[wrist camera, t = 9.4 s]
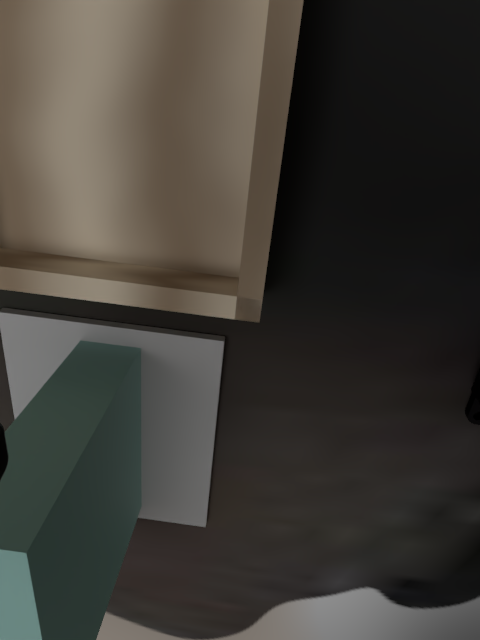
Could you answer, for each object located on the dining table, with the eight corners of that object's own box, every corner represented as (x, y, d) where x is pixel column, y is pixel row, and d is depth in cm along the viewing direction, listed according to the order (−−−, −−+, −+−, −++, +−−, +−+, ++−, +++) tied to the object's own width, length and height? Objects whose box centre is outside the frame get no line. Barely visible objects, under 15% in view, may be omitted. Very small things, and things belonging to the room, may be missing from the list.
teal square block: (141, 348, 22) (26, 552, 12) (141, 506, 27) (60, 742, 17) (80, 340, 22) (-83, 537, 12) (92, 499, 27) (-17, 730, 17)
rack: (328, -198, 13) (340, -272, 11) (262, 293, 21) (259, 322, 18) (-314, -260, 14) (-456, -344, 11) (-160, 239, 21) (-224, 260, 18)
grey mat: (225, 336, 22) (223, 341, 21) (206, 520, 28) (205, 527, 27) (3, 307, 22) (-3, 311, 22) (31, 495, 28) (27, 501, 27)
